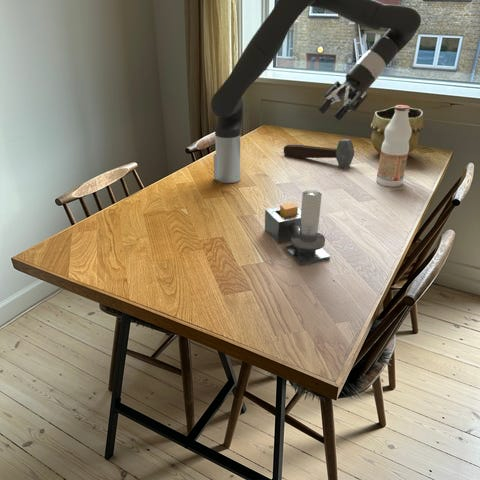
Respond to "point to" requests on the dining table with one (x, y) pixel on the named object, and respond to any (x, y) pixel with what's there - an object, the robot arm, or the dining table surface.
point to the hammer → (324, 152)
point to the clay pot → (384, 119)
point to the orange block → (288, 210)
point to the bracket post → (299, 230)
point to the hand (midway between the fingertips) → (327, 115)
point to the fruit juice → (395, 148)
